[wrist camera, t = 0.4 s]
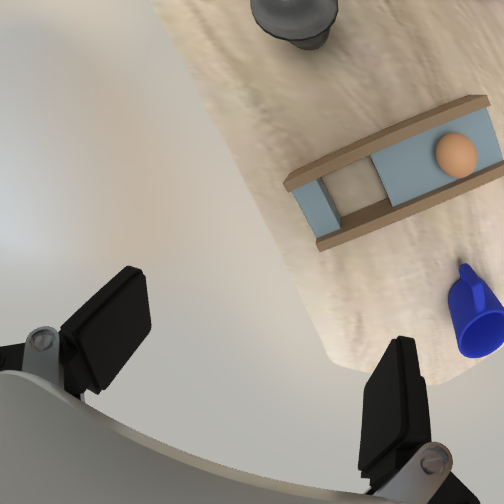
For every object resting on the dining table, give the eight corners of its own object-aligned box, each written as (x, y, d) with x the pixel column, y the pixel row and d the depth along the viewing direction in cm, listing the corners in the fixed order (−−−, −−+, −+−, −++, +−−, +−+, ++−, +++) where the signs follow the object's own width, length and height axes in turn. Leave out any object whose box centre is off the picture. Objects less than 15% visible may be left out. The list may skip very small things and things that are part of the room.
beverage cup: (306, -3, 25) (267, -89, 9) (352, 35, 27) (362, -36, 10) (265, 34, 29) (189, -22, 12) (309, 72, 30) (275, 36, 13)
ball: (458, 124, 25) (475, 128, 21) (472, 164, 26) (489, 174, 22) (424, 138, 27) (437, 144, 23) (439, 178, 28) (452, 190, 24)
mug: (479, 237, 33) (508, 275, 24) (490, 301, 36) (511, 343, 27) (430, 260, 36) (449, 303, 28) (447, 320, 40) (461, 366, 31)
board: (469, 94, 25) (486, 95, 21) (493, 163, 28) (511, 172, 23) (290, 173, 37) (282, 183, 33) (322, 234, 39) (320, 252, 35)
